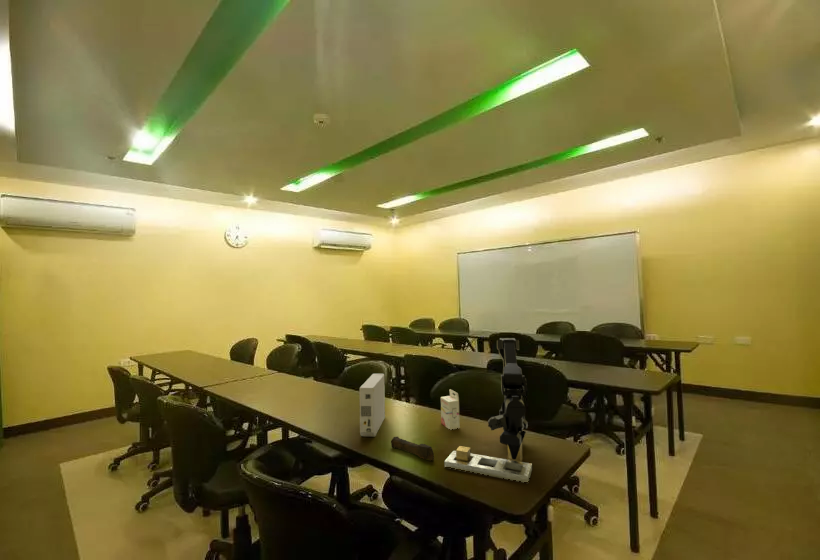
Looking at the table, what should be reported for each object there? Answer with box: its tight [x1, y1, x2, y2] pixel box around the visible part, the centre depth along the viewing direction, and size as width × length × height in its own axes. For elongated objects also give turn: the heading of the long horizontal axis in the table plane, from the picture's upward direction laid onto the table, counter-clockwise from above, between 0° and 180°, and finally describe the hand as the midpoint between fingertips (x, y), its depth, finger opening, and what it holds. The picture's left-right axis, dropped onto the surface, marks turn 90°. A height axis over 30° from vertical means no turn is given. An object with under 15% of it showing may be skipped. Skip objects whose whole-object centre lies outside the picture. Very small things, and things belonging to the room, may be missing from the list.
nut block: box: [507, 442, 523, 462], centre depth 124 cm, size 4×4×6 cm
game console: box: [359, 373, 386, 437], centre depth 159 cm, size 6×27×20 cm, turn 174°
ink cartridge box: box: [440, 388, 461, 431], centre depth 158 cm, size 9×5×15 cm, turn 22°
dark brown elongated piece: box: [390, 436, 435, 461], centre depth 131 cm, size 19×4×5 cm, turn 45°
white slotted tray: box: [444, 445, 533, 483], centre depth 118 cm, size 9×26×5 cm, turn 65°
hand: (515, 456), depth 124 cm, fingers closed on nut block, 4 cm apart
